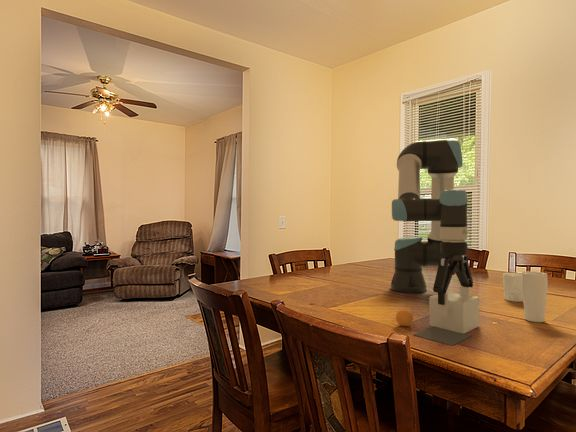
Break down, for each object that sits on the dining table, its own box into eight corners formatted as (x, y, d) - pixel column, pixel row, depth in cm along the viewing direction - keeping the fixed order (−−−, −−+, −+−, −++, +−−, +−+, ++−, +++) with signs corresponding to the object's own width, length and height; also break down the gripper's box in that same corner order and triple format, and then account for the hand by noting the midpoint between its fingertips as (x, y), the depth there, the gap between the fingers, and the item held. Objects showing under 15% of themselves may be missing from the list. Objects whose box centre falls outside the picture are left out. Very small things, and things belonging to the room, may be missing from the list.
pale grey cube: (429, 325, 112) (429, 296, 112) (446, 319, 119) (445, 291, 119) (463, 333, 104) (463, 302, 104) (479, 326, 111) (478, 297, 111)
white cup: (530, 302, 138) (530, 276, 138) (507, 302, 140) (507, 275, 140) (521, 297, 146) (521, 272, 146) (499, 297, 148) (499, 272, 147)
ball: (392, 325, 112) (392, 309, 112) (401, 322, 116) (401, 306, 116) (407, 329, 109) (406, 312, 109) (416, 326, 112) (416, 309, 112)
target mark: (413, 335, 104) (413, 334, 104) (433, 327, 111) (433, 326, 111) (452, 345, 95) (452, 345, 95) (471, 336, 102) (471, 335, 102)
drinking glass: (516, 317, 119) (516, 271, 119) (536, 317, 120) (536, 270, 120) (532, 324, 112) (532, 275, 112) (553, 323, 113) (553, 274, 113)
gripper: (445, 243, 100) (445, 322, 100) (484, 239, 116) (484, 307, 116) (419, 242, 106) (420, 316, 106) (460, 238, 122) (461, 302, 122)
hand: (454, 311), depth 111 cm, fingers open, 13 cm apart
